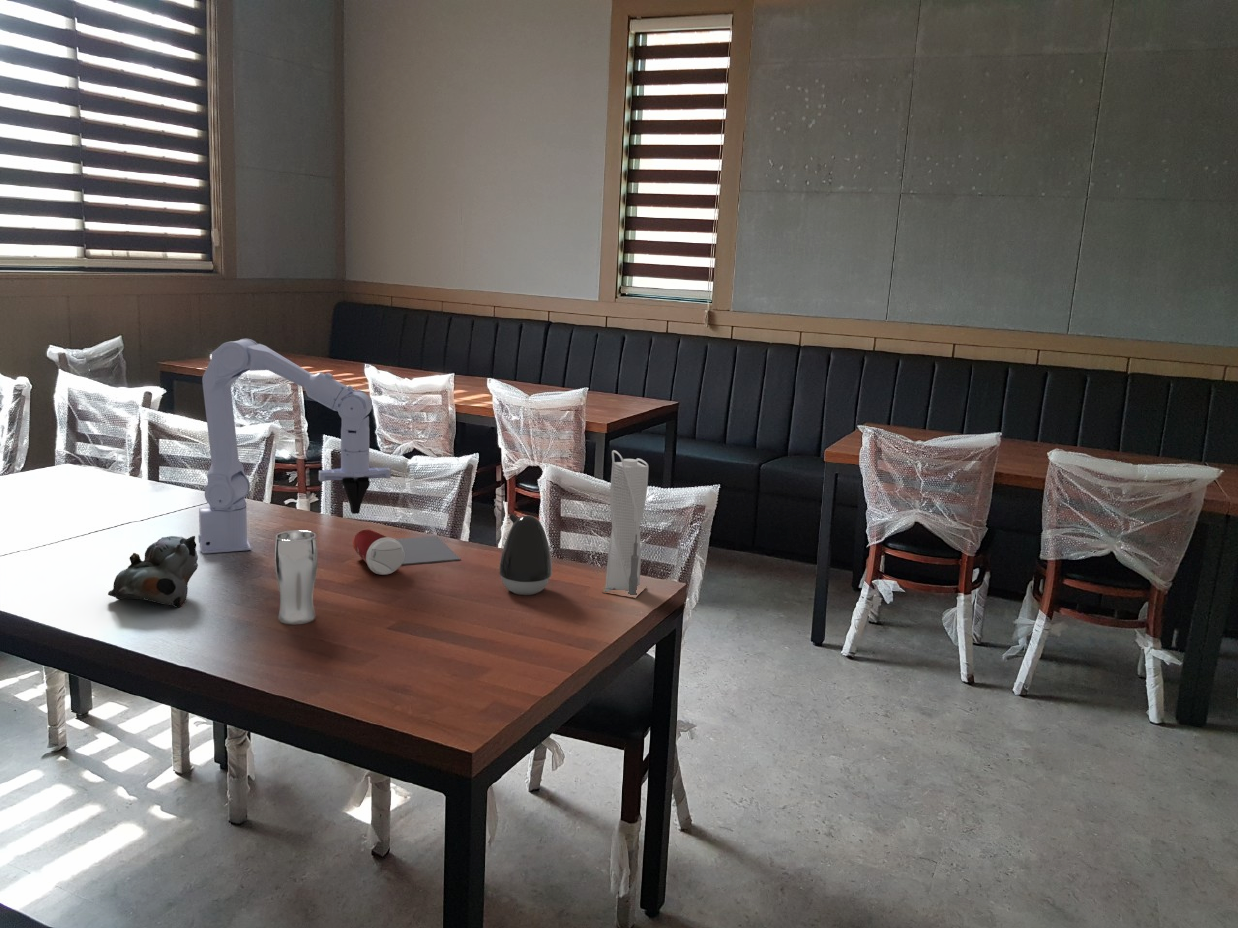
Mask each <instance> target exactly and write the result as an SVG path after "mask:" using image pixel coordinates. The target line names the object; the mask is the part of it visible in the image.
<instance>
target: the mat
mask: <svg viewBox="0 0 1238 928" xmlns="http://www.w3.org/2000/svg"><path fill="white" fill-rule="evenodd" d="M395 539H396V540H397V541H398V542H399V543H400V544H401V545H402V547H403V550H404V554H405V555H404V561H403V563H402V565H401V566H409V565H419V564H421V565H422V564H430V563H441V562H442V563H443V562H444V561H445V562H455V561H456V562H457V561H461V560H462V558H460V556H459V555H457V553H456V552H454V551H453V549H451V548H450V547H449V546H448V545H447V544H446V543H445V542H444V541H443V540H442V539H441V538H439V536H437V535H431V536H418V537H405V538H395Z"/></svg>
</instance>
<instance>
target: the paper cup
mask: <svg viewBox="0 0 1238 928" xmlns="http://www.w3.org/2000/svg"><path fill="white" fill-rule="evenodd" d="M396 539H397V538H394V537H390V536H389V537H388V536H386V535H384V534H381V533H380V532H377V531H375V530H372V529H367V528H366V529H362V530H359V531H358V532H357V533H356V534H355V536H354V537H353V539H352V547H353V549H354V551H355V553H356V554H357V555H358V556H359V557H360V558H361V559H362V560H363V561H364V562H365V563H366V564H367V567H368V569H369V570H370V571H371V572H373V573H374V574H377V575H381V576H385V575H390V574H392V573H394V572H396V571H397V570H398V569H399V568H400V567H401V566H403V565H402V563H403V561H404V555H405V554H404V550H403V547H402V545H401V544H400V543H399V542H398V541H397V540H396Z"/></svg>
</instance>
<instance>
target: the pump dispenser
mask: <svg viewBox="0 0 1238 928" xmlns="http://www.w3.org/2000/svg"><path fill="white" fill-rule="evenodd" d="M508 516H509V520H510V521H511V522H512V523H513V524H512V525H511V527H510V530H509V531H508V533H507V536H506V539H505V542H504V545H503V548H502V551H501V557H500V563H499V571H498V573H499V575H500V576H501V577H500V578H501V581H502V584H503V585H504V587H505V588H506V589H507V590H508V591H509V592H512V593H513V594H516V595H520V596H530V595H531V596H532V595H535V594H538V593H540V592H541V591H543V590H544V589H545V588H546V586H547V585H548V583H549V581H550V578H551V576H552V573H553V565H552V554H551V550H550V545H549V541H548V537H547V534H546V531H545V529H544V526H543V525H542V522H541V521H540V520H539V519H538V518H536V517H535V516H533V515H523V516H520V517H517V516H516V515H515V514H514V513H511V514H510V515H508Z"/></svg>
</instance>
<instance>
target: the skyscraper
mask: <svg viewBox="0 0 1238 928" xmlns="http://www.w3.org/2000/svg"><path fill="white" fill-rule="evenodd" d="M615 454H616V455H618V457H619V459H620V461H615ZM611 460H612V463H611V473H610V474H611V475H610V489H609V491H610V492H609V493H610V495H609V506H610V507H609V508H610V520H611V534H610V538H609V539H610V540H609V546H608V554H607V564H606V565H607V566H606V577H605V588H604V589H603V590H601V592H602V591H605V592H610V591H611V590H625V591H629V592H628V594H630V595H637V593H636V590H637V586H638V585H640V583H641V582H640V580H641V566H642V565H641V561H642V560H641V559H642V547H641V544H642V543H641V542H642V541H641V540H642V539H641V527H640V525H641V523H642V522H641V521H642V519H643V515H644V511H645V505H646V501H647V493H648V483H649V463H648V462H646V461H645V460H643V459H642V458H638V457H637V458H636V459H634V458H623V456H622V455H621V454H620V453H619V452H618V451H617V450H614V449H613V450H611ZM645 586H646V585H645ZM646 587H647V588H648V586H646ZM613 593H615V592H613Z"/></svg>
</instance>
